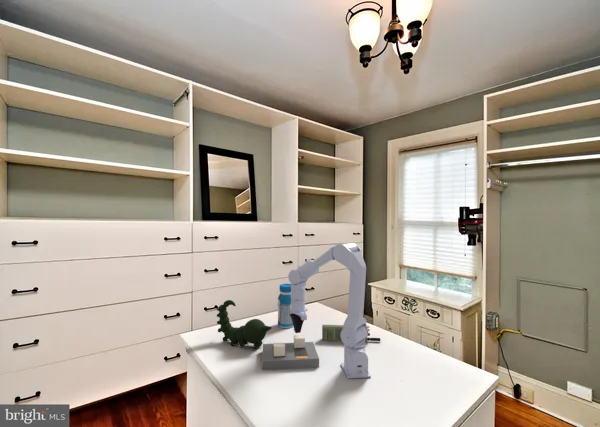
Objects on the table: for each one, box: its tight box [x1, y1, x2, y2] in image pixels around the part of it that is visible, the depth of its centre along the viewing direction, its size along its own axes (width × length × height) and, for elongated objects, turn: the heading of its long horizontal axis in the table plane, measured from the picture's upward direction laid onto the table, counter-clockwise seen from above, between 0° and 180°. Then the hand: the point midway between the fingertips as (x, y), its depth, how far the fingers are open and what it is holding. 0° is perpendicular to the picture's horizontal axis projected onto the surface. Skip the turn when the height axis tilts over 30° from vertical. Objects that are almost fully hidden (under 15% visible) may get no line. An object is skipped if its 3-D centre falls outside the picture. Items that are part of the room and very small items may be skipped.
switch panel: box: [261, 341, 320, 371], centre depth 106 cm, size 14×20×3 cm
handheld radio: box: [321, 324, 381, 343], centre depth 123 cm, size 7×3×25 cm
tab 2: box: [293, 334, 306, 348], centre depth 110 cm, size 3×4×4 cm
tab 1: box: [273, 342, 286, 356], centre depth 103 cm, size 3×4×4 cm
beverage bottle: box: [277, 283, 294, 329], centre depth 140 cm, size 8×8×20 cm
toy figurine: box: [216, 299, 272, 349], centre depth 118 cm, size 9×19×25 cm
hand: (297, 332), depth 115 cm, fingers closed
